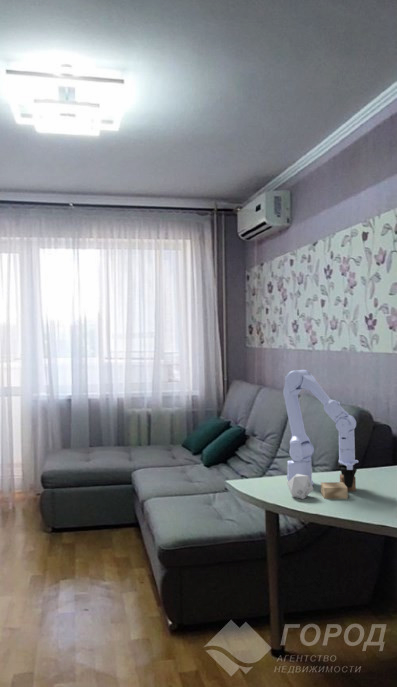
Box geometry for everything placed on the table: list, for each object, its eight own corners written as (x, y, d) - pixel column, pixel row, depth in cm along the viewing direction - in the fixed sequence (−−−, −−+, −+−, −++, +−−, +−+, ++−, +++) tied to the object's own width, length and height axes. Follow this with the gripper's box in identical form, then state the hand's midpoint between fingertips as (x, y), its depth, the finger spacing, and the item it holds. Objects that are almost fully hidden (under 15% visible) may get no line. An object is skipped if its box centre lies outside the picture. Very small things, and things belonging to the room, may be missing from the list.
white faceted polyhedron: (291, 502, 196) (308, 481, 194) (278, 486, 203) (294, 465, 201) (306, 507, 201) (322, 486, 199) (292, 490, 208) (308, 470, 206)
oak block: (324, 499, 199) (324, 487, 199) (321, 493, 206) (320, 482, 207) (347, 499, 198) (347, 487, 198) (343, 493, 206) (343, 482, 206)
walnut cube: (341, 490, 208) (341, 477, 208) (340, 487, 213) (339, 474, 213) (355, 491, 208) (355, 477, 208) (353, 487, 213) (353, 474, 213)
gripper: (361, 452, 203) (362, 490, 203) (354, 445, 217) (355, 480, 217) (340, 452, 204) (341, 490, 204) (336, 445, 218) (336, 480, 218)
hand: (347, 485), depth 210 cm, fingers closed on walnut cube, 5 cm apart
